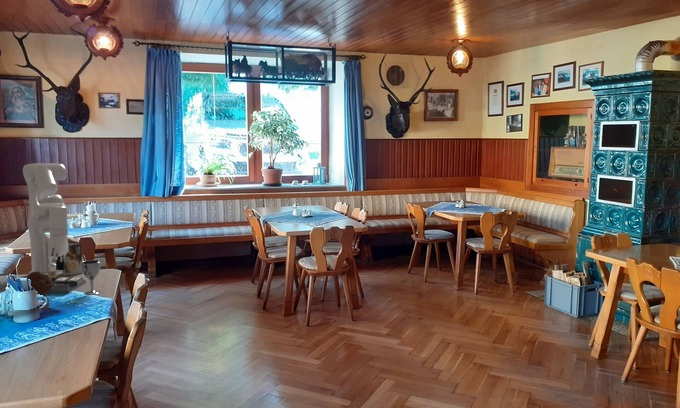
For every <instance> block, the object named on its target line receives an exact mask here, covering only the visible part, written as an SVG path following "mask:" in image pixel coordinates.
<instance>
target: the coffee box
mask: <svg viewBox="0 0 680 408" xmlns="http://www.w3.org/2000/svg"><path fill="white" fill-rule="evenodd" d="M68 247H69V249H68V253H66V255H65V261H64V265H65V269H64V270H61V273H62V275H64V276H65V277H66V276H71V275H77V274H84V273H83V271H82V262H83V251H82V250H83V249H82V243H79V242H72V243H68Z"/></svg>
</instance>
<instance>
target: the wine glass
mask: <svg viewBox="0 0 680 408" xmlns="http://www.w3.org/2000/svg"><path fill="white" fill-rule="evenodd" d="M82 271H83V273H82V274H84V275H83V276H85V277H86V278H87V279H88V280H89V283H90V290H88V291H85V292H84V293H83V294H84V295H85V296H91V295H92V296H93V295H98V294H100V293H101V291H100V290H96V289H95V290H94V280H95V279H96V277H97V276H98V275H99V274H100V271H101V260H99V259H89V260H84V261H83V260H82Z"/></svg>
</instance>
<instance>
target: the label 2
mask: <svg viewBox="0 0 680 408" xmlns="http://www.w3.org/2000/svg"><path fill="white" fill-rule="evenodd" d="M71 278H72V279H70V280H69V281H77V280H78V279H80V278H81V277H71Z"/></svg>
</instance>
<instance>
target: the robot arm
mask: <svg viewBox="0 0 680 408" xmlns="http://www.w3.org/2000/svg"><path fill="white" fill-rule="evenodd" d="M22 174H23V177H24V180H25V182H26V184H27V187H28V200H29V201H28V203H29V209H30V211H31V212H32V213H33V216H30V217H29V218H28V219H27V224H26V225H27V230H28V234H29V241H30V242H29V243H30V244H29V245H30V257H31V258H30V259H31V270H30V271H29V272H28V275H29V274H30V273H32V272H40V273H41V274H45V275H47V276H49V275H48V264H50V263H53V261H54V263H56V271H62V270H64V269H65V265H64V261H65V255H66V253H68V249H69V247H68V244H69V237H68V235H69V228H68V227H69V226H68V206H67V205H66V204H65V203H64V199H63V196H61V195H60V194H56V193H57V192H58V190H59V187H58V183H57V181H65V180H66V179H67V177H68V171H67V168H66V166H65V165H64V164H63V163H58V162H56V163H55V162H52V163H51V162H50V163H49V162H48V163H46V162H45V163H43V162H39V163H29V164H25V165H23V167H22ZM47 233H49V236H48V235H46V234H47Z"/></svg>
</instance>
